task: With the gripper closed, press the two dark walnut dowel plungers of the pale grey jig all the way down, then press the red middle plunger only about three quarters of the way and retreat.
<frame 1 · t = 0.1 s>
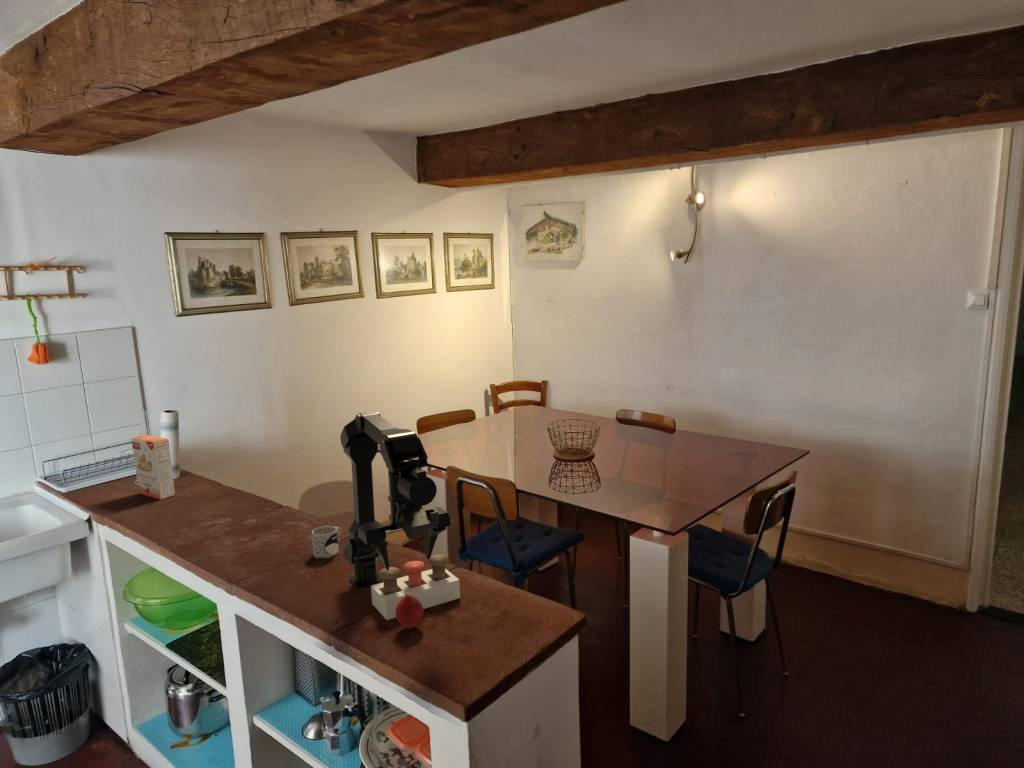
hand: (408, 564, 146), 15 cm above the counter, fingers open, 9 cm apart
jig: (416, 600, 160), on the counter
red plunger: (414, 576, 159), point 6 cm above the counter, slide at 0.0 cm
walnut plunger near: (390, 583, 156), point 6 cm above the counter, slide at 0.0 cm
onion: (410, 628, 148), on the counter
mug: (329, 552, 191), on the counter
walnut plunger far: (438, 569, 162), point 6 cm above the counter, slide at 0.0 cm
cracker box: (156, 495, 247), on the counter
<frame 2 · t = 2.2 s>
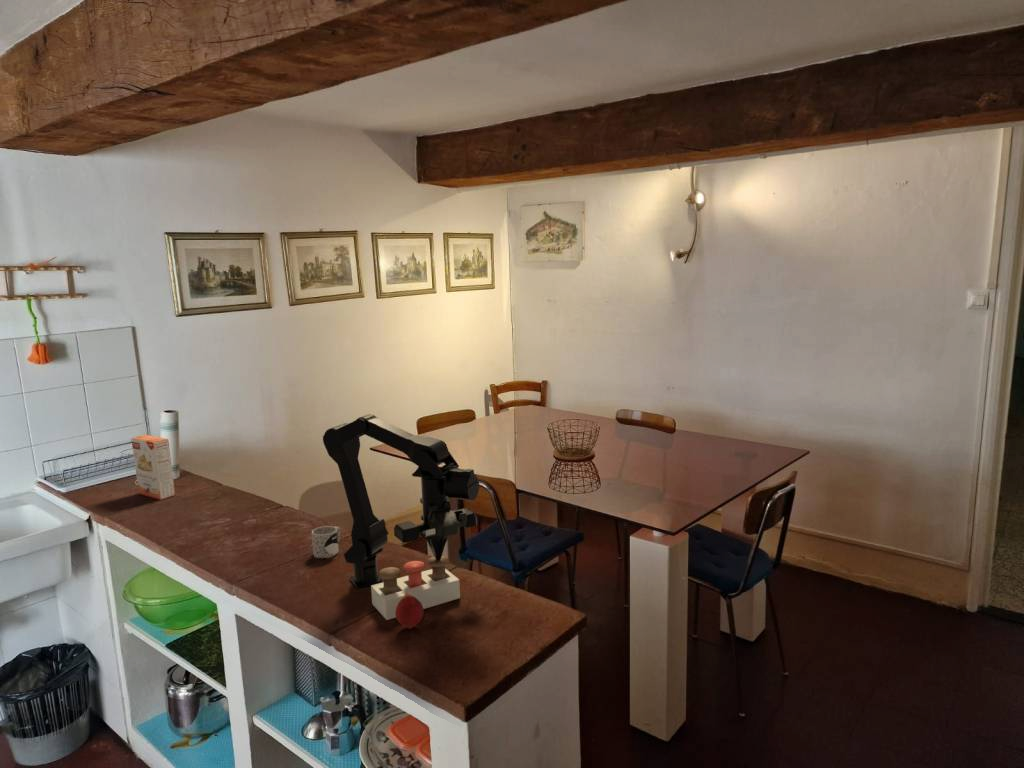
hand: (438, 559, 162), 9 cm above the counter, fingers closed, pressing on walnut plunger far
walnut plunger far: (438, 570, 162), point 6 cm above the counter, slide at 0.3 cm, touching gripper
everything else where it was.
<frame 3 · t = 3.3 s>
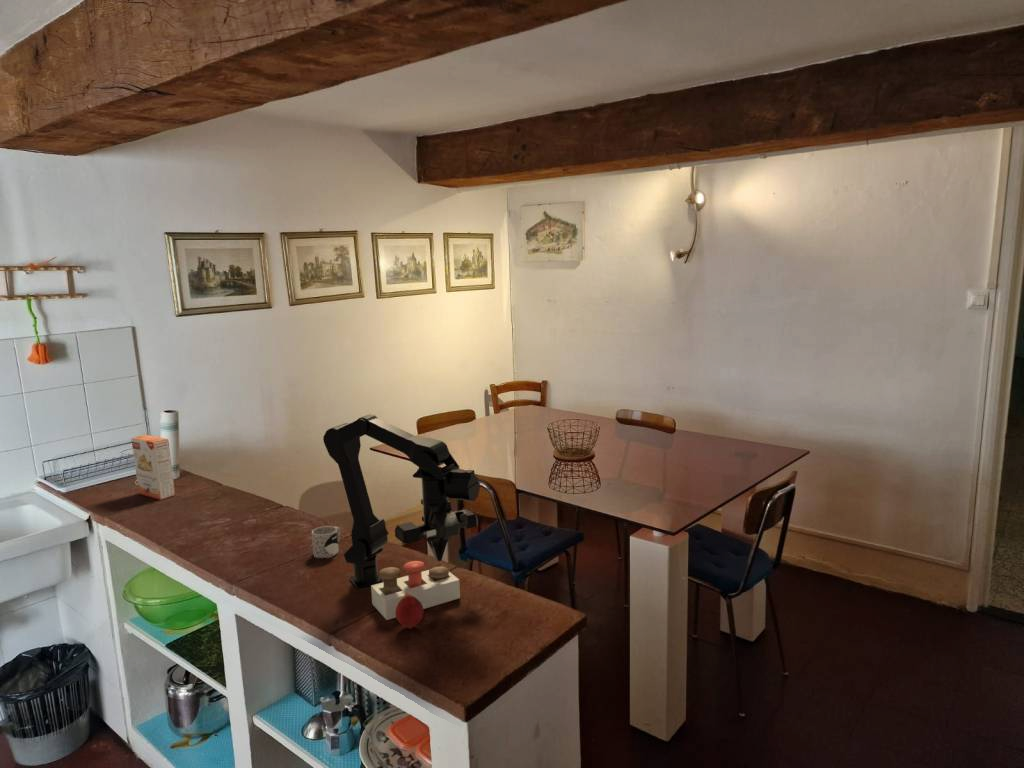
hand: (438, 560, 162), 8 cm above the counter, fingers closed
walnut plunger far: (439, 581, 163), point 3 cm above the counter, slide at 3.0 cm
everything else where it was.
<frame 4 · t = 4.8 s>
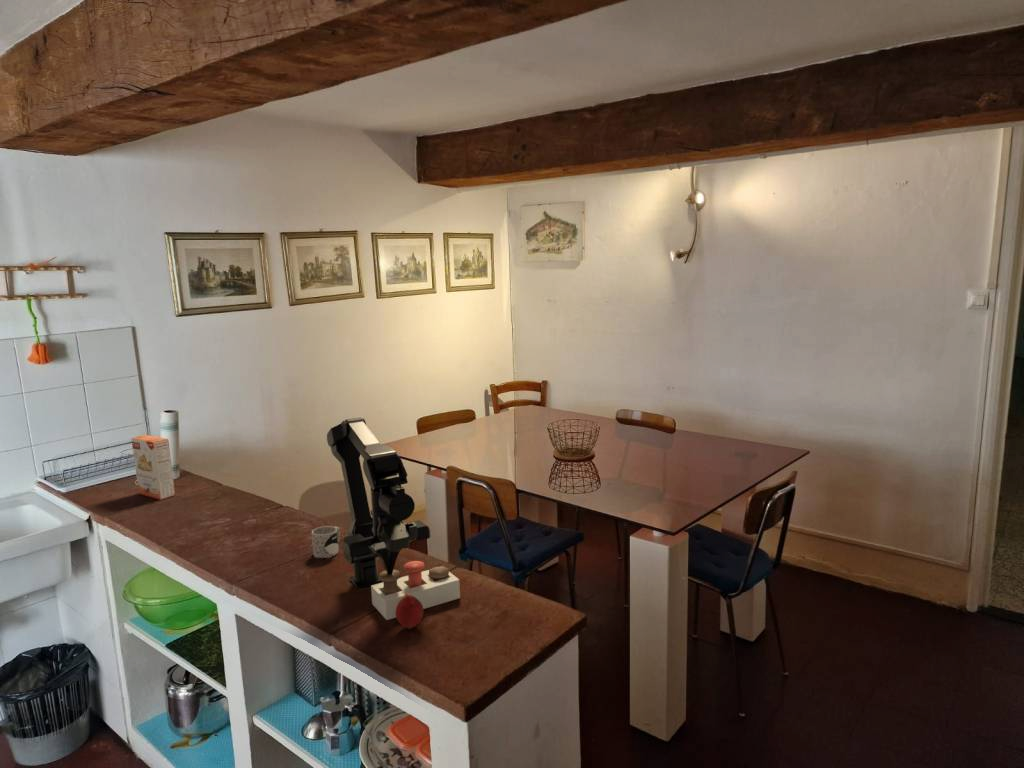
hand: (389, 573, 156), 8 cm above the counter, fingers closed, pressing on walnut plunger near
walnut plunger near: (390, 585, 156), point 5 cm above the counter, slide at 0.6 cm, touching gripper
everything else where it was.
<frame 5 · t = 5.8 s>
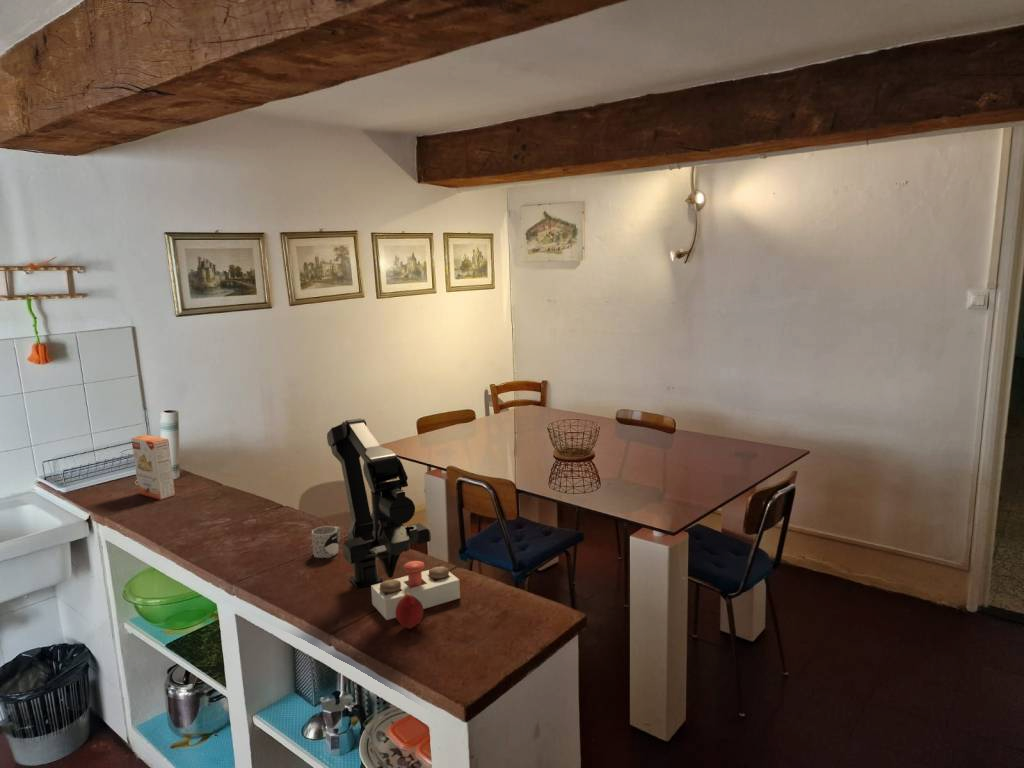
hand: (390, 577, 156), 8 cm above the counter, fingers closed
walnut plunger near: (391, 595, 157), point 3 cm above the counter, slide at 3.0 cm
everything else where it was.
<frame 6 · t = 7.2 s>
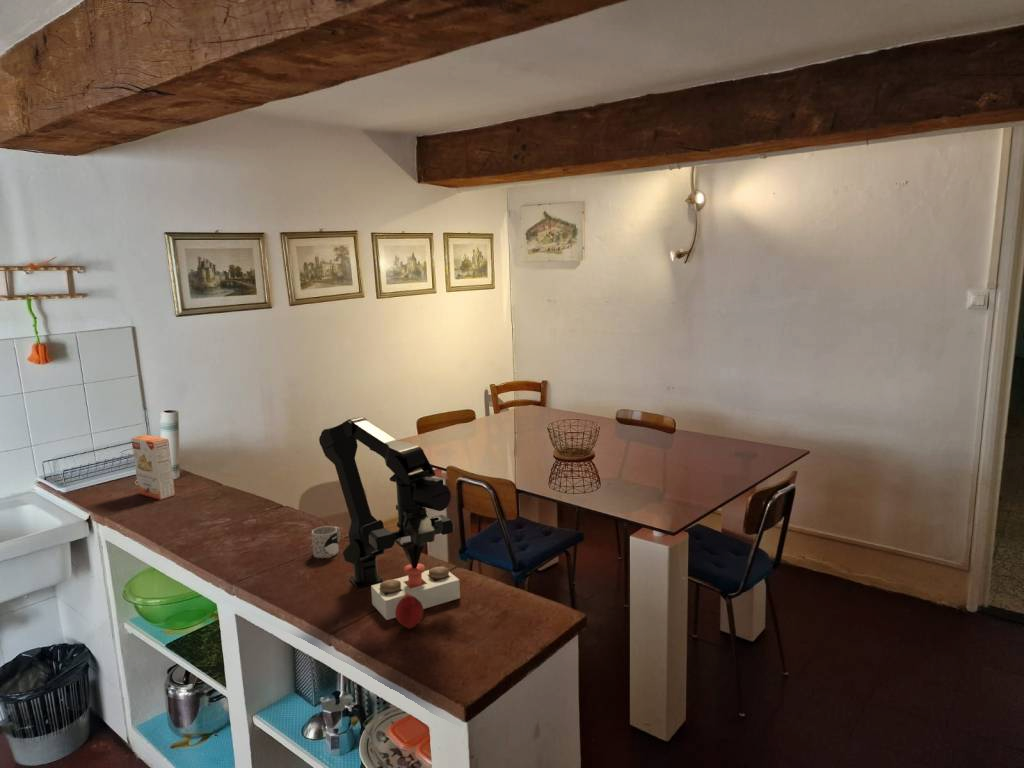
hand: (414, 567, 159), 8 cm above the counter, fingers closed, pressing on red plunger
red plunger: (415, 578, 159), point 5 cm above the counter, slide at 0.6 cm, touching gripper
everything else where it was.
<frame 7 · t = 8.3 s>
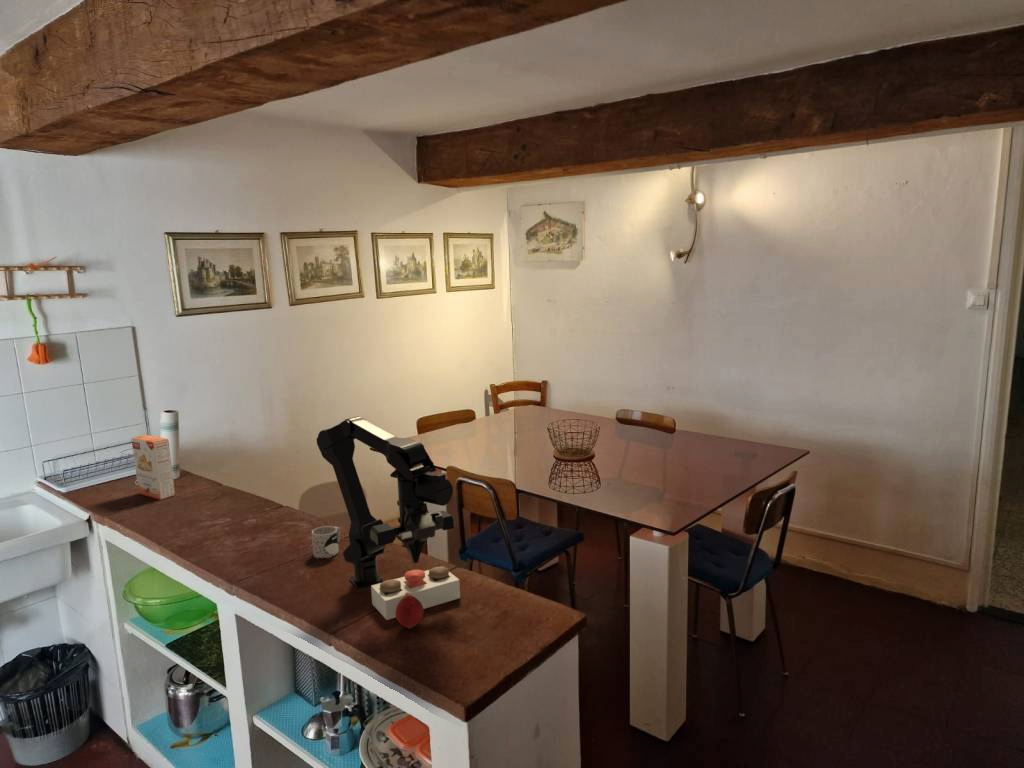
hand: (415, 562, 160), 9 cm above the counter, fingers closed
red plunger: (415, 585, 160), point 4 cm above the counter, slide at 2.2 cm
everything else where it was.
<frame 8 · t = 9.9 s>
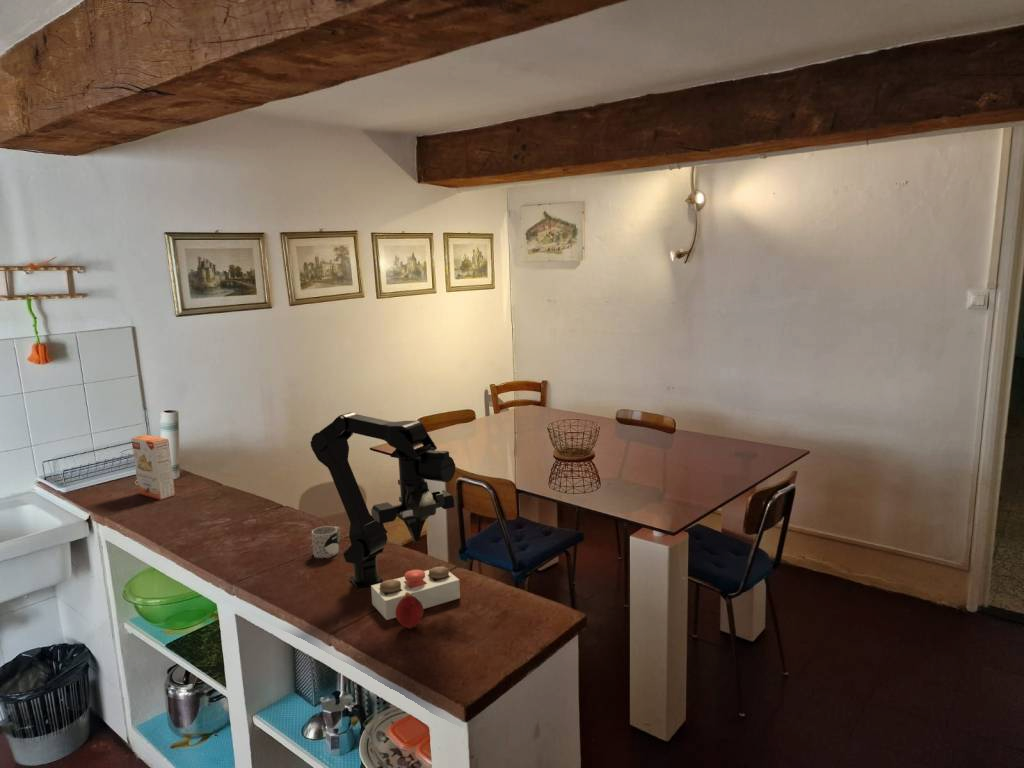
hand: (416, 541, 162), 13 cm above the counter, fingers closed
nothing on the counter moved.
at the end: walnut plunger far slide at 3.0 cm; walnut plunger near slide at 3.0 cm; red plunger slide at 2.2 cm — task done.
